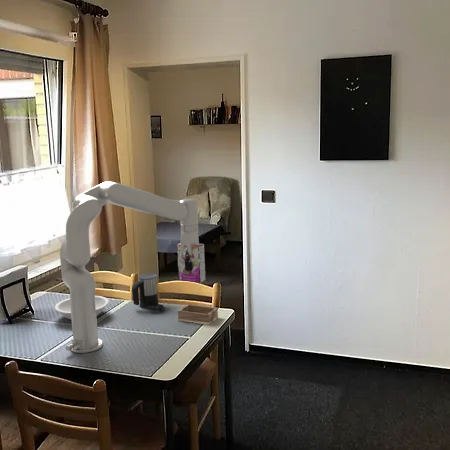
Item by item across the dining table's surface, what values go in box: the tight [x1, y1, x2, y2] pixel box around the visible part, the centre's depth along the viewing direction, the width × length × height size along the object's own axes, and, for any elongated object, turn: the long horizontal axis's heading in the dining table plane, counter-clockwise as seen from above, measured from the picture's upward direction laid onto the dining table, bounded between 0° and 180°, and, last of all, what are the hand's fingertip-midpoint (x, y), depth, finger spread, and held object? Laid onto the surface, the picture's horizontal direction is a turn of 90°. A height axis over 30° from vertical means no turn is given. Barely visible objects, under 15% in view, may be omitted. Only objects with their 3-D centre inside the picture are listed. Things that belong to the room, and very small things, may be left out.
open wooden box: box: [177, 304, 219, 326], centre depth 236 cm, size 9×15×4 cm, turn 65°
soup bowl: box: [54, 295, 110, 320], centre depth 243 cm, size 24×24×7 cm
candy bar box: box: [176, 242, 206, 284], centre depth 230 cm, size 11×5×16 cm, turn 64°
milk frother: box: [131, 273, 166, 312], centre depth 252 cm, size 14×16×15 cm
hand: (191, 268), depth 231 cm, fingers closed on candy bar box, 5 cm apart
